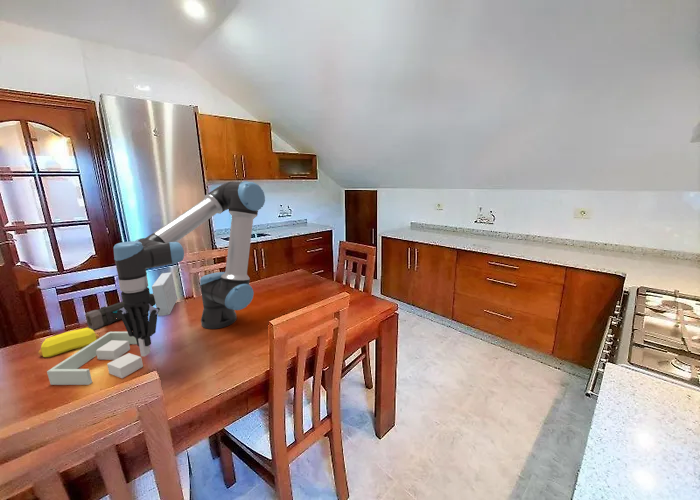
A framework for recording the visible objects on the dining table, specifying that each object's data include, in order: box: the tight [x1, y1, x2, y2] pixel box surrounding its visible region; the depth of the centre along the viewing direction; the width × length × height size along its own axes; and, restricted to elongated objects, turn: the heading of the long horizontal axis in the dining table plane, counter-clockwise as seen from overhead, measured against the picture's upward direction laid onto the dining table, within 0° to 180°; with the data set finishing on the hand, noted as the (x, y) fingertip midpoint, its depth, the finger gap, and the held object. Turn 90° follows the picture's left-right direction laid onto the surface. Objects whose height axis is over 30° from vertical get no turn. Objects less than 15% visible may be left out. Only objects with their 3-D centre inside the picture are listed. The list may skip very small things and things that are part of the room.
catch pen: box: [46, 331, 137, 386], centre depth 109 cm, size 13×25×5 cm, turn 179°
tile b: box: [106, 352, 144, 379], centre depth 104 cm, size 7×7×4 cm
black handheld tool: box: [85, 293, 156, 331], centre depth 144 cm, size 11×7×30 cm
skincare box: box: [151, 272, 178, 317], centre depth 153 cm, size 21×6×16 cm, turn 20°
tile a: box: [96, 340, 131, 361], centre depth 113 cm, size 7×7×4 cm
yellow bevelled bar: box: [37, 327, 100, 358], centre depth 117 cm, size 18×7×8 cm
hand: (145, 354), depth 102 cm, fingers closed
